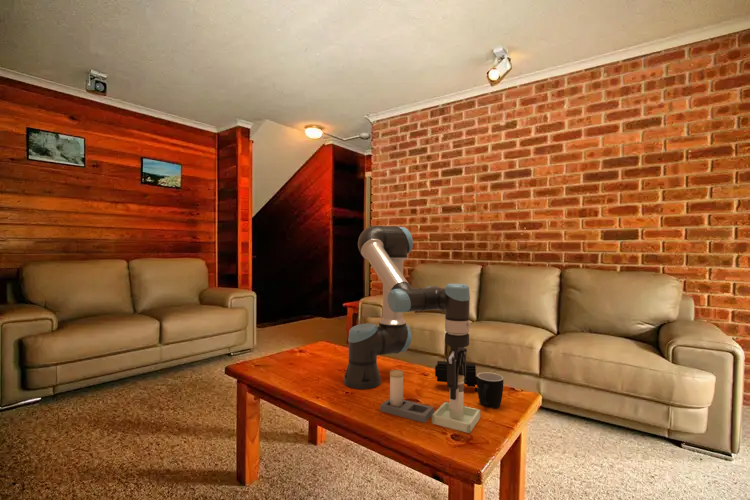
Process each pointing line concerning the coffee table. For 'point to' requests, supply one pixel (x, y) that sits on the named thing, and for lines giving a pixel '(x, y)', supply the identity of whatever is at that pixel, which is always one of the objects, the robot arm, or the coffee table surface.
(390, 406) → the block
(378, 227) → the robot arm
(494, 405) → the mug
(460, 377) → the fuse
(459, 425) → the parts tray
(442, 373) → the security camera
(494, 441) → the coffee table surface
